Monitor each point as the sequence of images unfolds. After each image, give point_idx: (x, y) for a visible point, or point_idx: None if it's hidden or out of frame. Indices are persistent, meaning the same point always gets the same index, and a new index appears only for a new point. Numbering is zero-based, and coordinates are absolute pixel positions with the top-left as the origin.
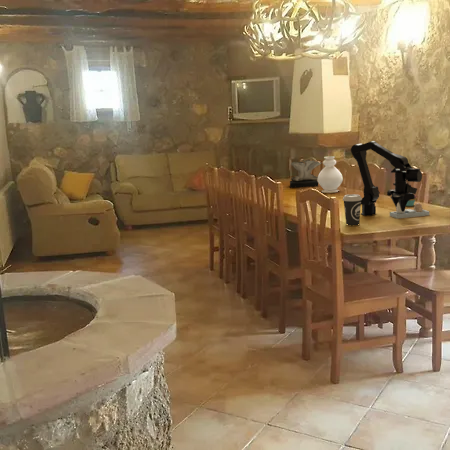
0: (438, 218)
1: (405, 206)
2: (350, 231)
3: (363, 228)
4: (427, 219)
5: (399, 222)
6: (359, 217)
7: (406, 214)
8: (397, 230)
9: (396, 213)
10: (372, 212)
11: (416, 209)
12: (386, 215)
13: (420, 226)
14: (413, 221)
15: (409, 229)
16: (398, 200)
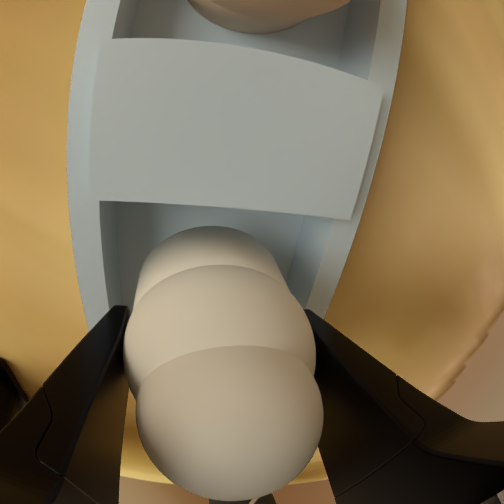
0: (480, 5)
1: (379, 366)
2: (322, 474)
3: (322, 461)
4: (468, 96)
5: (373, 350)
6: (269, 499)
7: (336, 264)
8: (442, 387)
9: (114, 291)
10: (4, 396)
11: (332, 4)
12: (25, 310)
13: (498, 290)
14: (435, 253)
15: (474, 350)
16: (85, 496)
